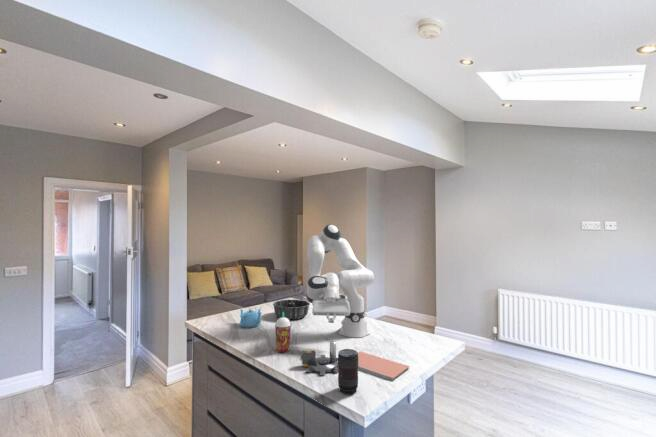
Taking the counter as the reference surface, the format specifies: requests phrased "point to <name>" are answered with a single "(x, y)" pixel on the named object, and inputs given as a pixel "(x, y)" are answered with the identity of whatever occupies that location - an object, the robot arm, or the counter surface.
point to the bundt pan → (291, 308)
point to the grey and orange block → (308, 357)
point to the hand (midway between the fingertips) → (331, 322)
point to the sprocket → (325, 362)
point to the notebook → (380, 366)
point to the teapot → (250, 318)
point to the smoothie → (282, 334)
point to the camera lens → (348, 371)
